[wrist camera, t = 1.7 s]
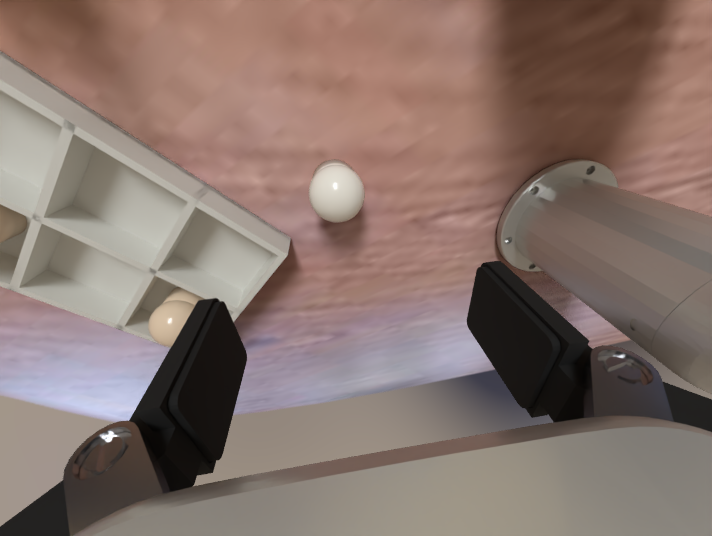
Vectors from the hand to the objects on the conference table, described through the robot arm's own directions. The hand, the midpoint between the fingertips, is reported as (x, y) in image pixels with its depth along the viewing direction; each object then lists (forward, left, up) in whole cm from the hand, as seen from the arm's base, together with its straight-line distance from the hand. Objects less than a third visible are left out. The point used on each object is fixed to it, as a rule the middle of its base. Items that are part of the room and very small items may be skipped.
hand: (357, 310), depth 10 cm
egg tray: (+12, +15, -18) cm, 27 cm away
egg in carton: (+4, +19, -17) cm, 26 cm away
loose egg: (0, 0, -18) cm, 18 cm away
